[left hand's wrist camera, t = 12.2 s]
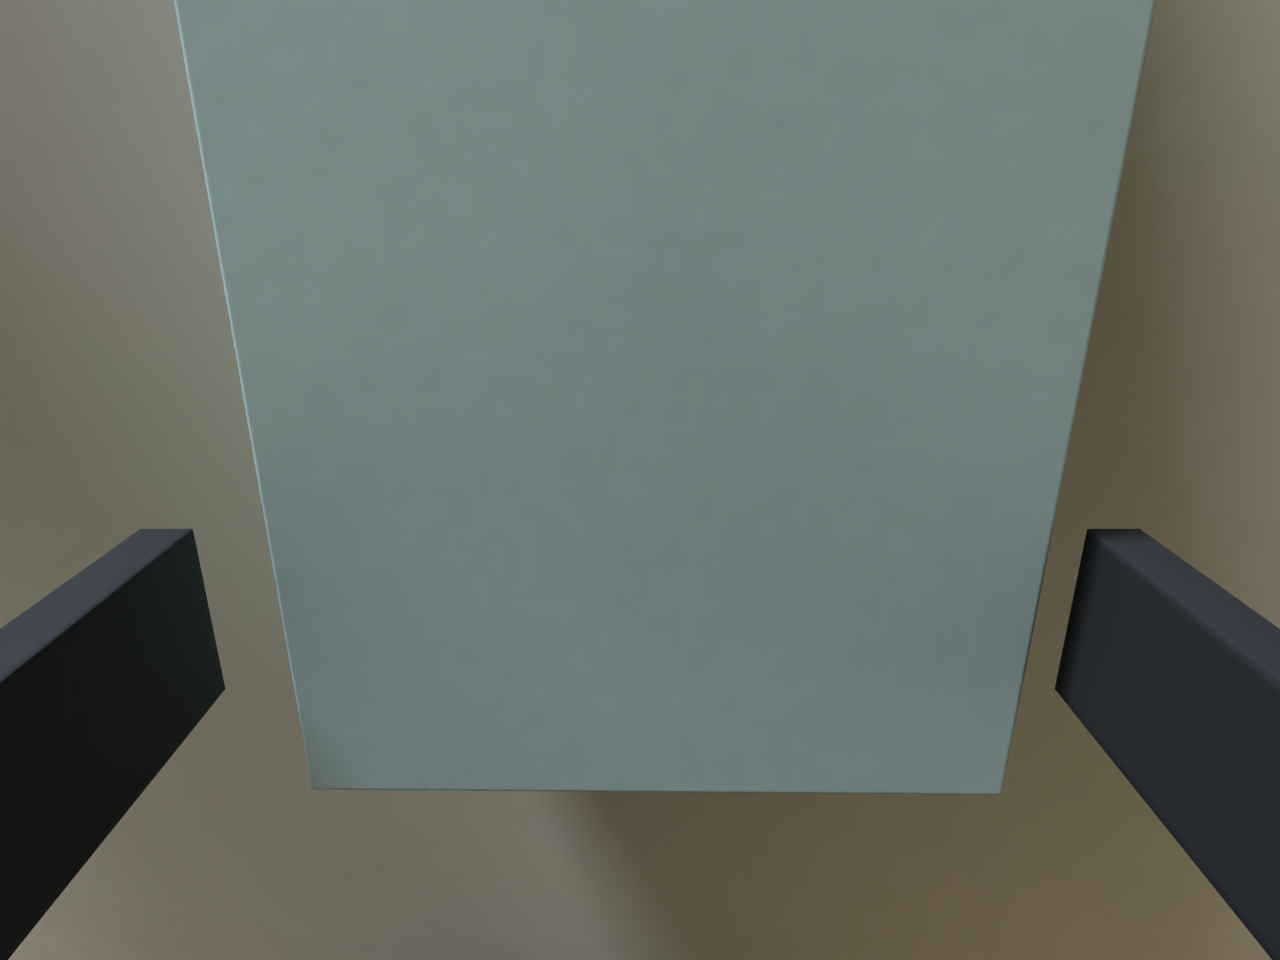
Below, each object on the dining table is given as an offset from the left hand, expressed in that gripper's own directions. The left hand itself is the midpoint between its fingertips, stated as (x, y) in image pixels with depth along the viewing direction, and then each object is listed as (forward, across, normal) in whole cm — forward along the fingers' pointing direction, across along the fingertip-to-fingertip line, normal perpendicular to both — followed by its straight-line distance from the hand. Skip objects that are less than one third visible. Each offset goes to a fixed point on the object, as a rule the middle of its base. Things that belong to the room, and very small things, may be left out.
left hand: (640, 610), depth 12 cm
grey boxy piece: (+8, 0, -6) cm, 10 cm away
